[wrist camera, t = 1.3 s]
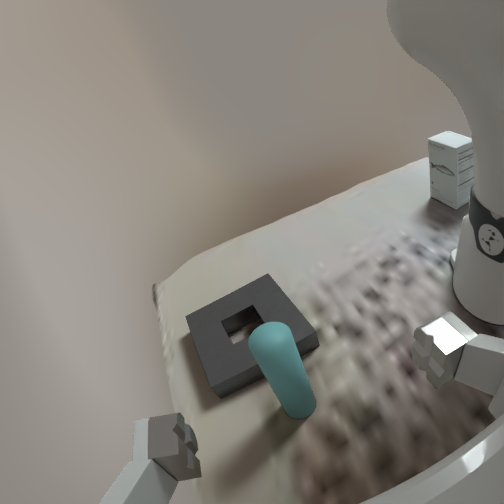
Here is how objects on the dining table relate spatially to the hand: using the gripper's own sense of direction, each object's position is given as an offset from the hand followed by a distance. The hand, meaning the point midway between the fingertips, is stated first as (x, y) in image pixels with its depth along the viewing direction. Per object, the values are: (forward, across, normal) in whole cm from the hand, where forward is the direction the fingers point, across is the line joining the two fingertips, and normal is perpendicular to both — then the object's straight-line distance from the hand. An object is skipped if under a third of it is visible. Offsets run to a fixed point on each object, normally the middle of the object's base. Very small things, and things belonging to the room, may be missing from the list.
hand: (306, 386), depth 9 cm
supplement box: (+36, -44, +14) cm, 59 cm away
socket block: (+27, +1, +20) cm, 34 cm away
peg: (+14, -2, +22) cm, 26 cm away
